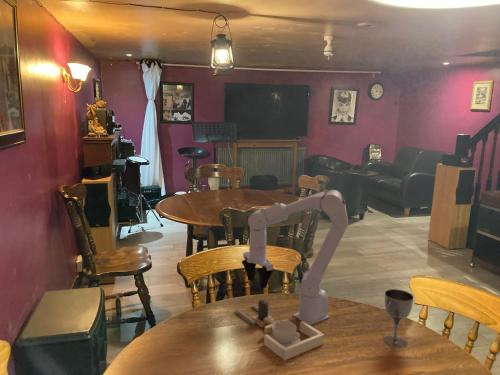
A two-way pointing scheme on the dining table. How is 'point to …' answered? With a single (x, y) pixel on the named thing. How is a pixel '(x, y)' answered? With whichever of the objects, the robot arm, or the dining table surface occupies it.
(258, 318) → the pushrod
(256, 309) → the rail
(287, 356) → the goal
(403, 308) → the wine glass
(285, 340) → the teacup
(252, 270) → the robot arm
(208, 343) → the dining table surface
